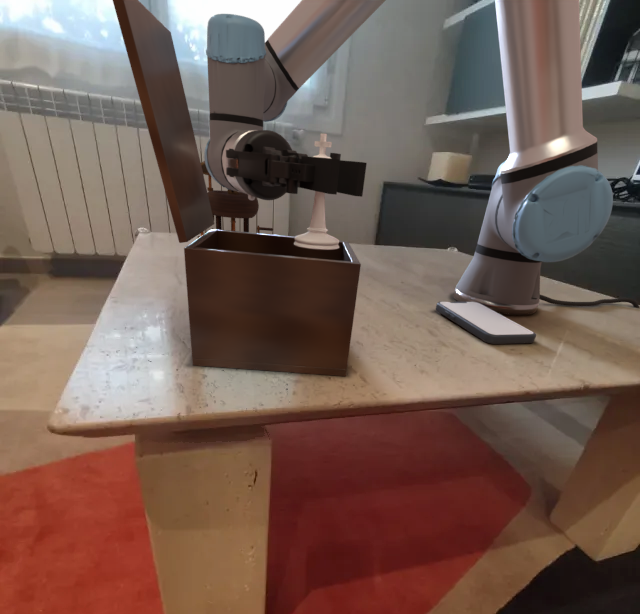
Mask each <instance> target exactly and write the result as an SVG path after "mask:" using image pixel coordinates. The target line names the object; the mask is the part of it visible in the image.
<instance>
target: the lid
mask: <svg viewBox="0 0 640 614" xmlns="http://www.w3.org/2000/svg"><path fill="white" fill-rule="evenodd" d="M112 3H113V8H114V10H115V15H116V18H117V21H118V25H119V29H120V32H121V37H122V39H123V43H124V47H125V50H126V54H127V57H128V62H129V65H130V68H131V69H130V70H131V72H132V76H133V79H134V84H135V87H136V90H137V94H138V97H139V102H140V105H141V109H142V112H143V116H144V121H145V123H146V127H147V132H148V135H149V138H150V142H151V146H152V149H153V152H154V156H155V160H156V164H157V167H158V171H159V174H160V178H161V182H162V185H163V189H164V192H165V196H166V200H167V204H168V207H169V211H170V215H171V217H172V221H173V226H174V229H175V232H176V236H177V240H178V243H179V244H182V243H189V241H191V240H193V239H194V238H195V237H198V236H200V235H201V233H202V232H203V233H204V232H205V231H206V230H208V229H209V228H211V227H213V226H214V225H215V218H214V219H213V215H212V210H211V206H210V202H209V197H208V190H207V184H206V180H205V174H203V171H202V167H201V163H202V161H201V159H200V153H199V150H198V149H199V148H198V146H197V140H196V137H195V131H194V128H193V127H194V126H193V124H192V119H191V115H190V110H189V106H188V102H187V98H186V93H185V88H184V83H183V80H182V75H181V71H180V66H179V63H178V62H179V61H178V58H177V54H176V49H175V45H174V41H173V36H172V32H171V30H170V29H168V28H167V27H166V26H165V25H164V23H162V22H161V21H160V20H159V19H158V18H157V17H156V16H155V15H154V14H153V13H152V12H151V11H150V10H149V9H148V8H147V7H146V6H145V5H144V4H143V3H142V2H141V1H139V0H112Z"/></svg>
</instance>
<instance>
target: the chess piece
mask: <svg viewBox="0 0 640 614" xmlns="http://www.w3.org/2000/svg"><path fill="white" fill-rule="evenodd" d="M327 137H328V134H327V133H323V132H321V133H320V136H319V140H314V147H315V148H319V152H318V154H317V155H313V156H312V157H319V158H331V157H330V156H328V155H327V154H326V151H327V148H332V146H333V145H332V144H333V142H332V141H327ZM331 159H332V158H331ZM325 195H326V193H322V192H318V191H314V197H313V206H312V210H311V211H312V212H311V218H310V223H309V227H307V228H306V230H307V232H304V233H300V234H297V235H295V236H294V237H295V242H294V245H295V246H298V247H302V248H307V249H317V250H335V249H338V248H339V245H338V244H339V241H340V240H339V239H338V238H337V237H335V236H333V235H330V234H329V233H328V232H329V229H328V228H327V225H326V200H325V199H326V197H325Z"/></svg>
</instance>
